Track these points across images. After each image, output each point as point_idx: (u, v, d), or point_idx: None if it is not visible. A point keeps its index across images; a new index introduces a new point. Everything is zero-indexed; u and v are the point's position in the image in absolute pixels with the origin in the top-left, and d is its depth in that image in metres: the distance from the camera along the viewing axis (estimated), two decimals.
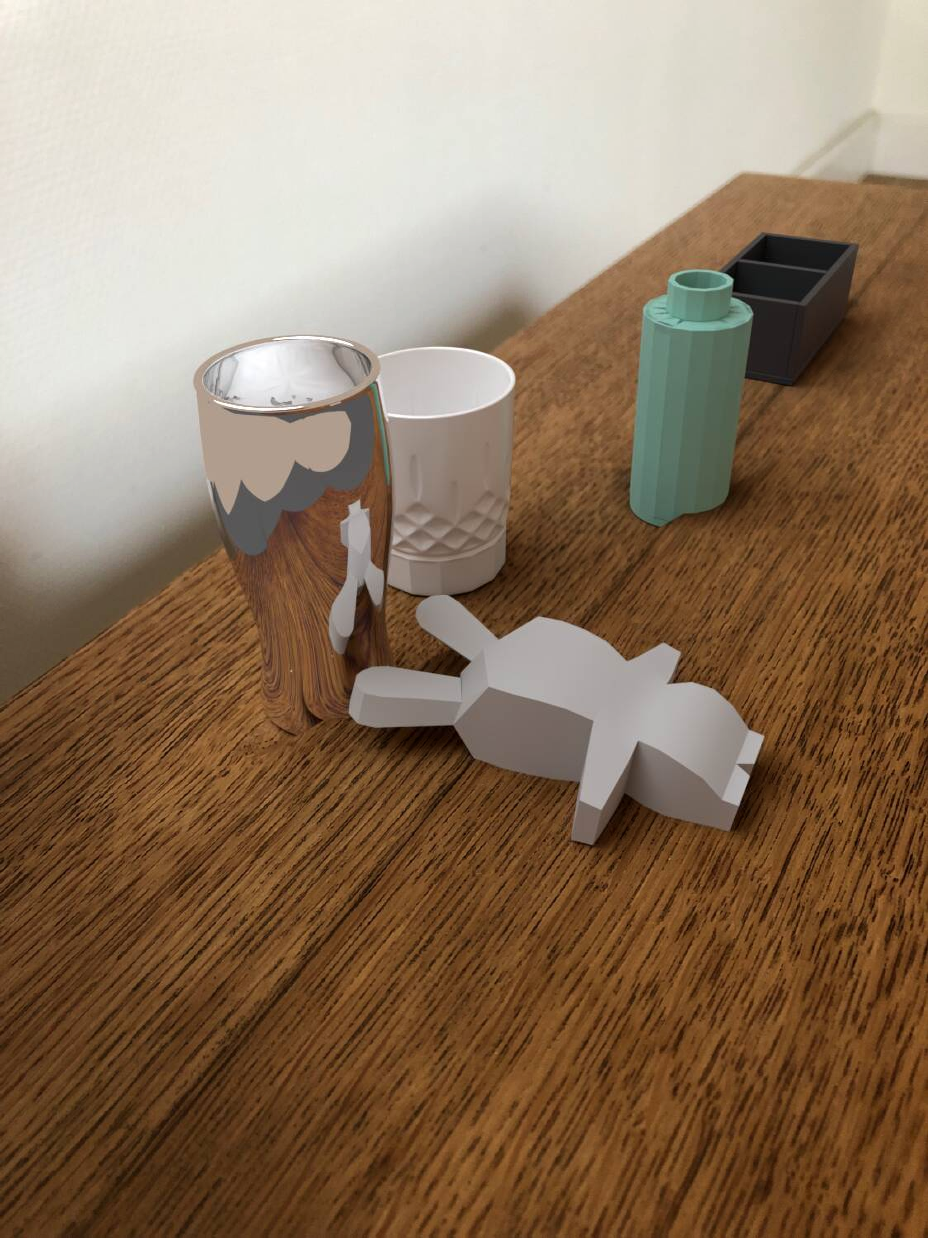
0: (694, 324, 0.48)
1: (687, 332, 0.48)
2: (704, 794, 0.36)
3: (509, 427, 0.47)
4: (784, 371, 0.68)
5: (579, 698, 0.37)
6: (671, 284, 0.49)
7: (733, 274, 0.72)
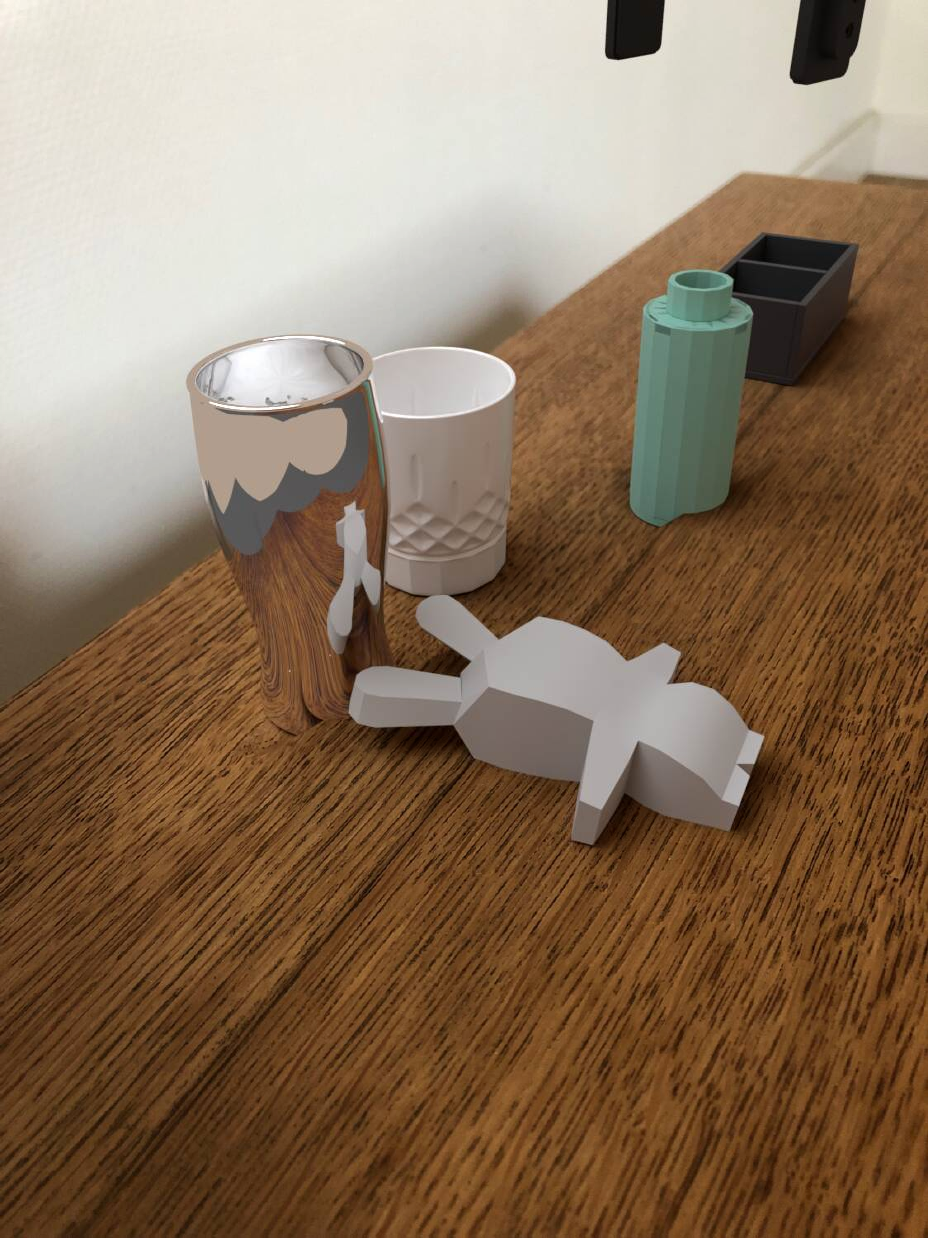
0: (694, 324, 0.48)
1: (687, 332, 0.48)
2: (704, 794, 0.36)
3: (509, 427, 0.47)
4: (784, 371, 0.68)
5: (579, 698, 0.37)
6: (671, 284, 0.49)
7: (733, 274, 0.72)
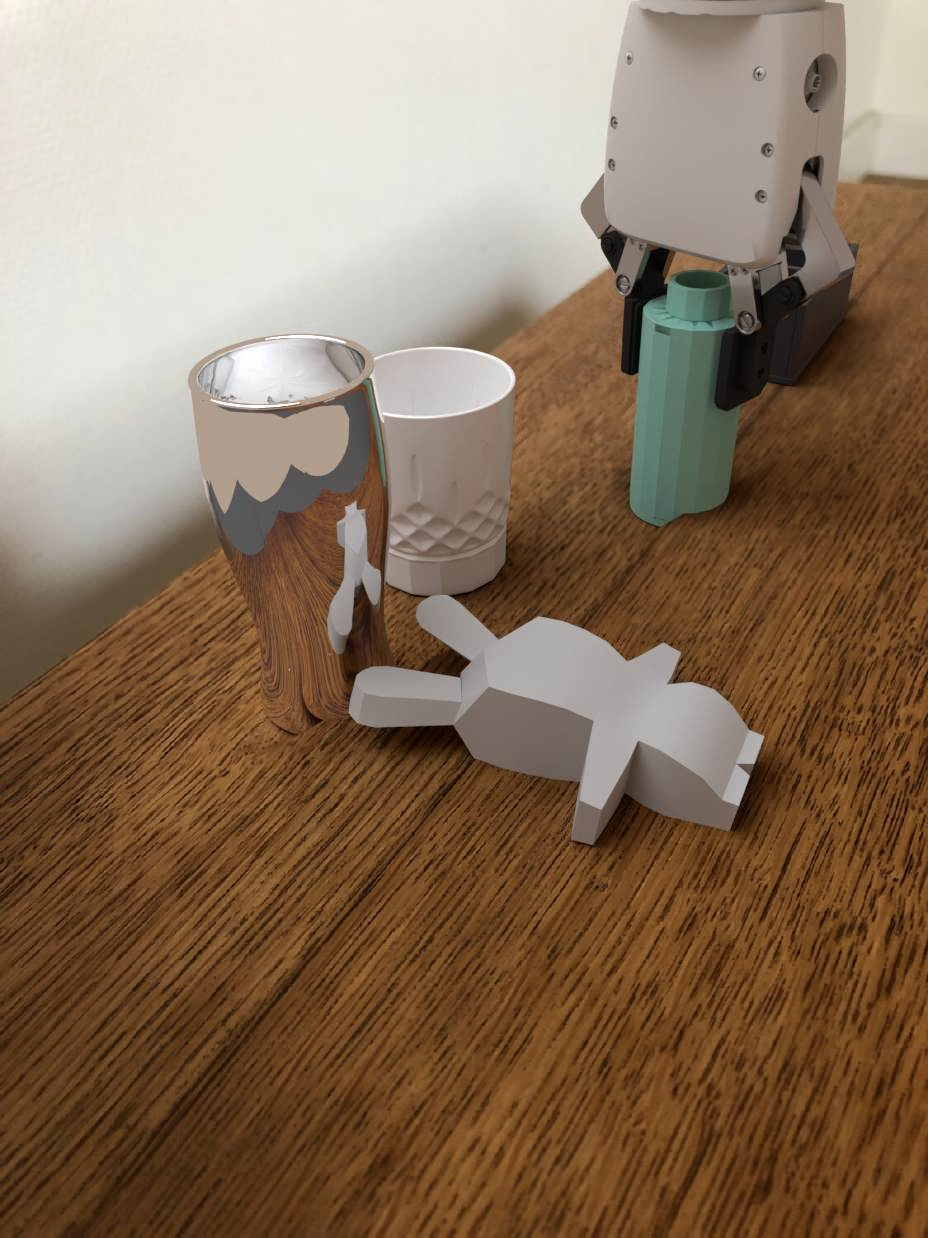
0: (694, 324, 0.48)
1: (687, 332, 0.48)
2: (704, 794, 0.36)
3: (509, 427, 0.47)
4: (784, 371, 0.68)
5: (579, 698, 0.37)
6: (671, 284, 0.49)
7: None
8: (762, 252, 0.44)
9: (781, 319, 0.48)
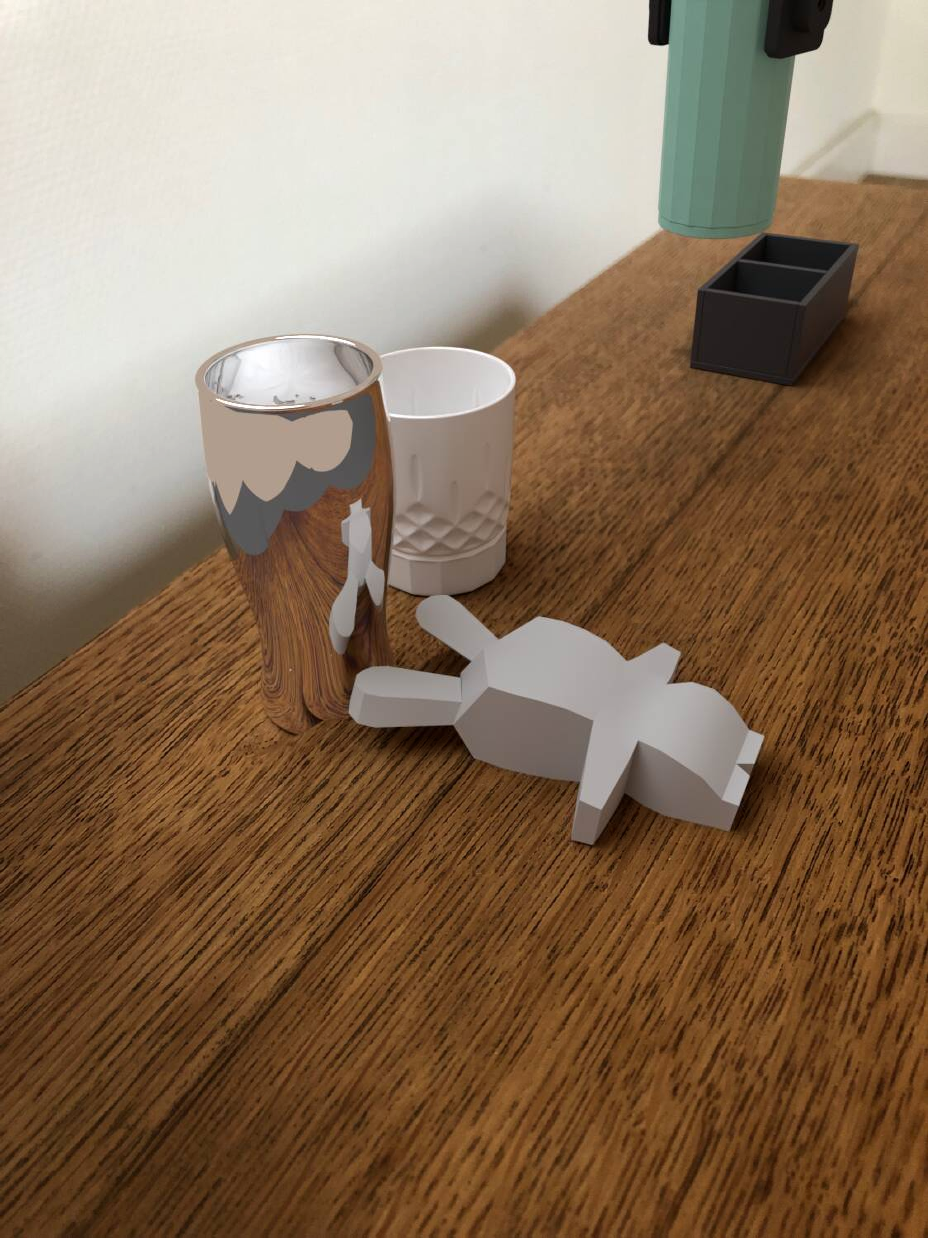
0: None
1: None
2: (704, 794, 0.36)
3: (509, 427, 0.47)
4: (784, 371, 0.68)
5: (579, 698, 0.37)
6: None
7: (733, 274, 0.72)
8: None
9: None
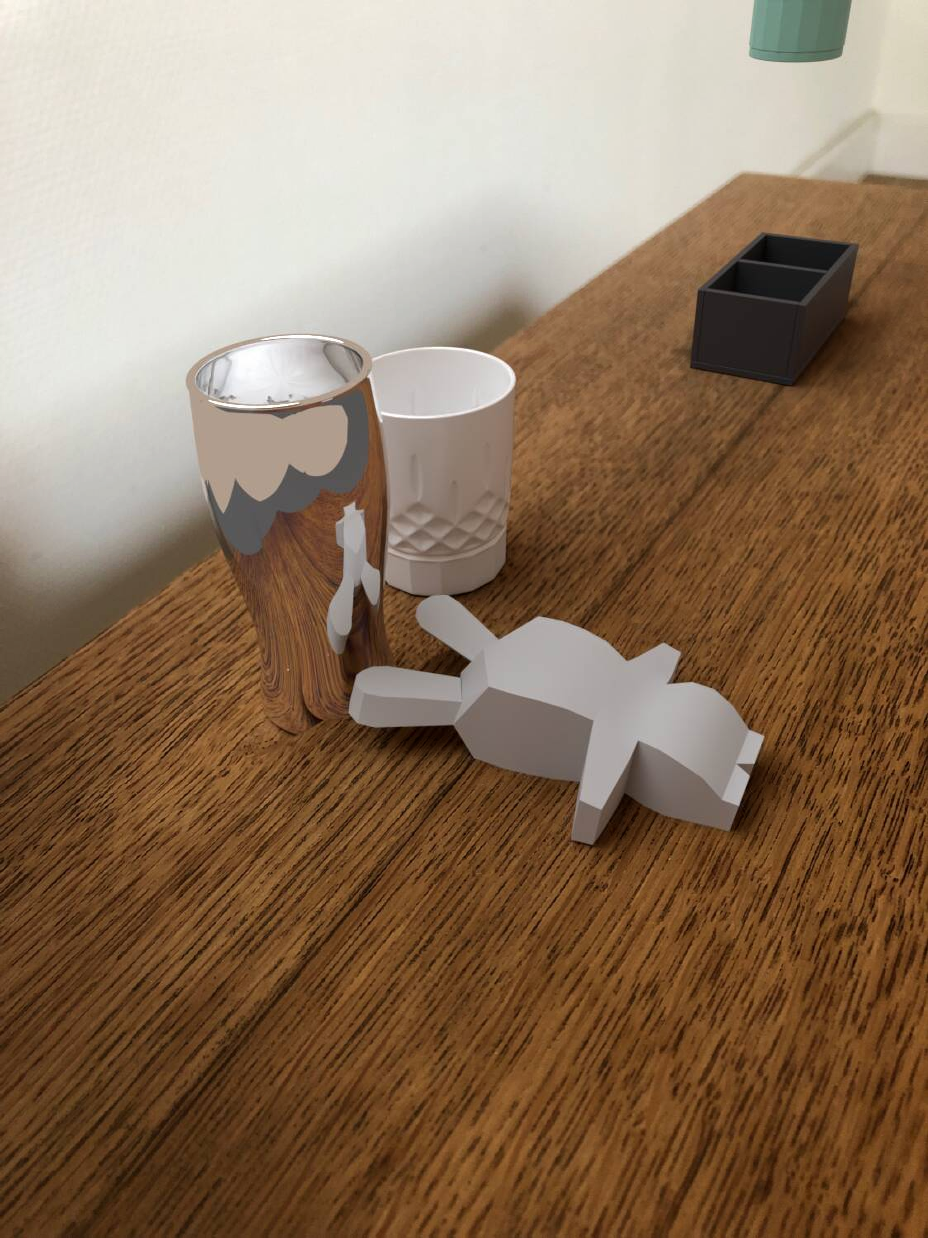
0: None
1: None
2: (704, 794, 0.36)
3: (509, 427, 0.47)
4: (784, 371, 0.68)
5: (579, 698, 0.37)
6: None
7: (733, 274, 0.72)
8: None
9: None
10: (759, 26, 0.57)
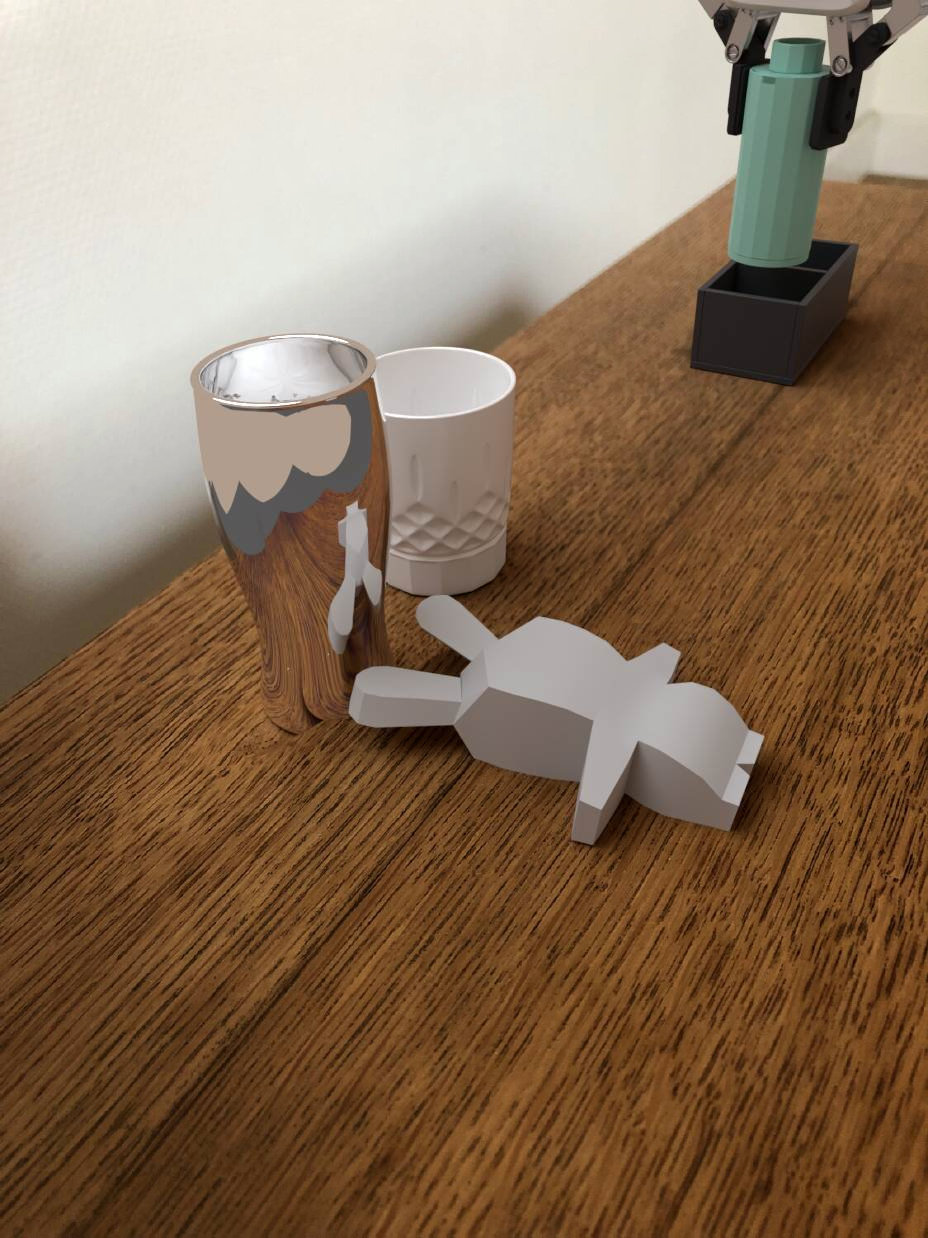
0: (795, 75, 0.60)
1: (789, 79, 0.59)
2: (704, 794, 0.36)
3: (509, 427, 0.47)
4: (784, 371, 0.68)
5: (579, 698, 0.37)
6: (775, 43, 0.60)
7: (733, 274, 0.72)
8: None
9: (866, 68, 0.59)
10: (736, 234, 0.66)
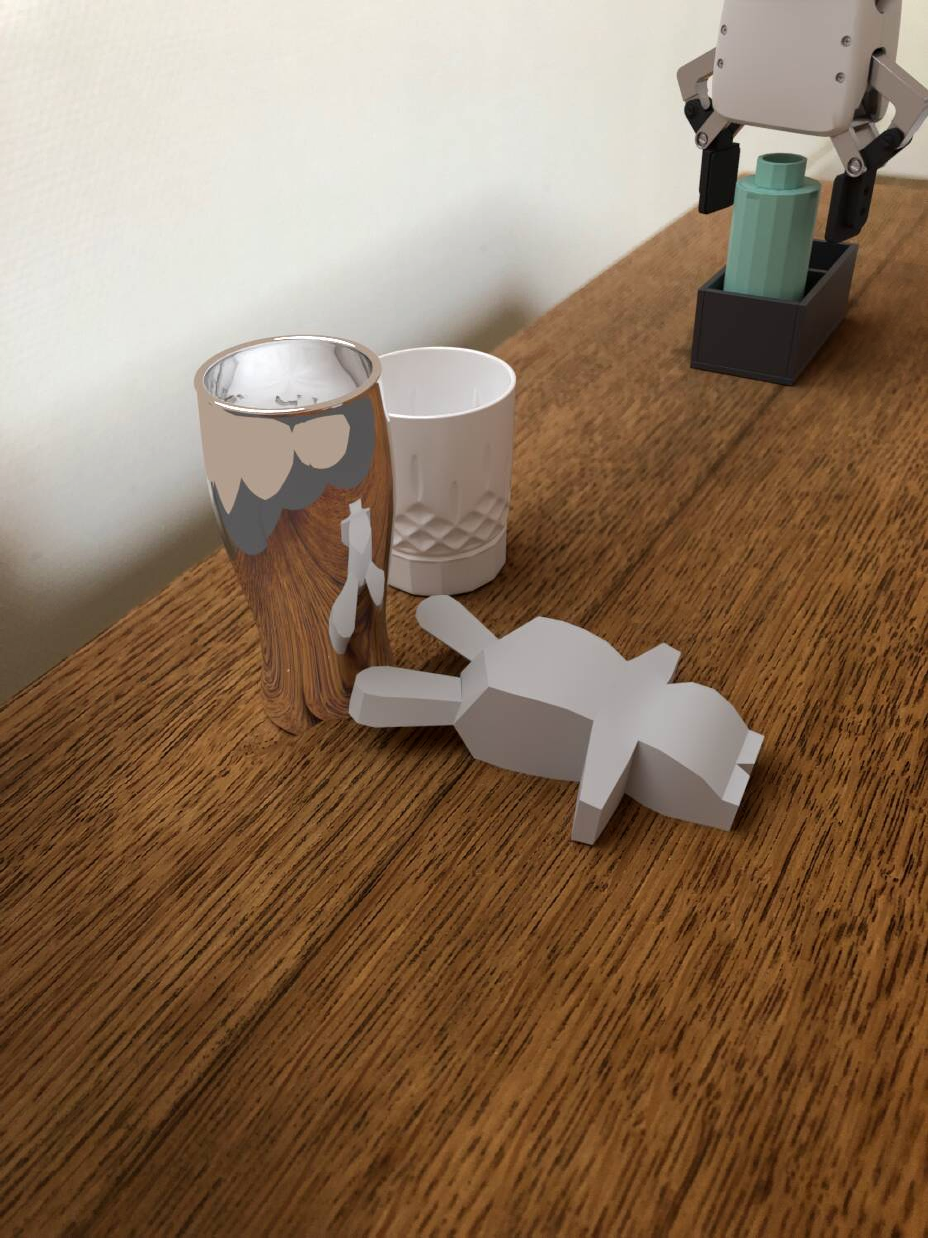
0: (778, 191, 0.64)
1: (773, 196, 0.63)
2: (704, 794, 0.36)
3: (510, 427, 0.47)
4: (784, 371, 0.68)
5: (579, 698, 0.37)
6: (760, 161, 0.64)
7: None
8: (839, 121, 0.59)
9: (883, 164, 0.61)
10: None
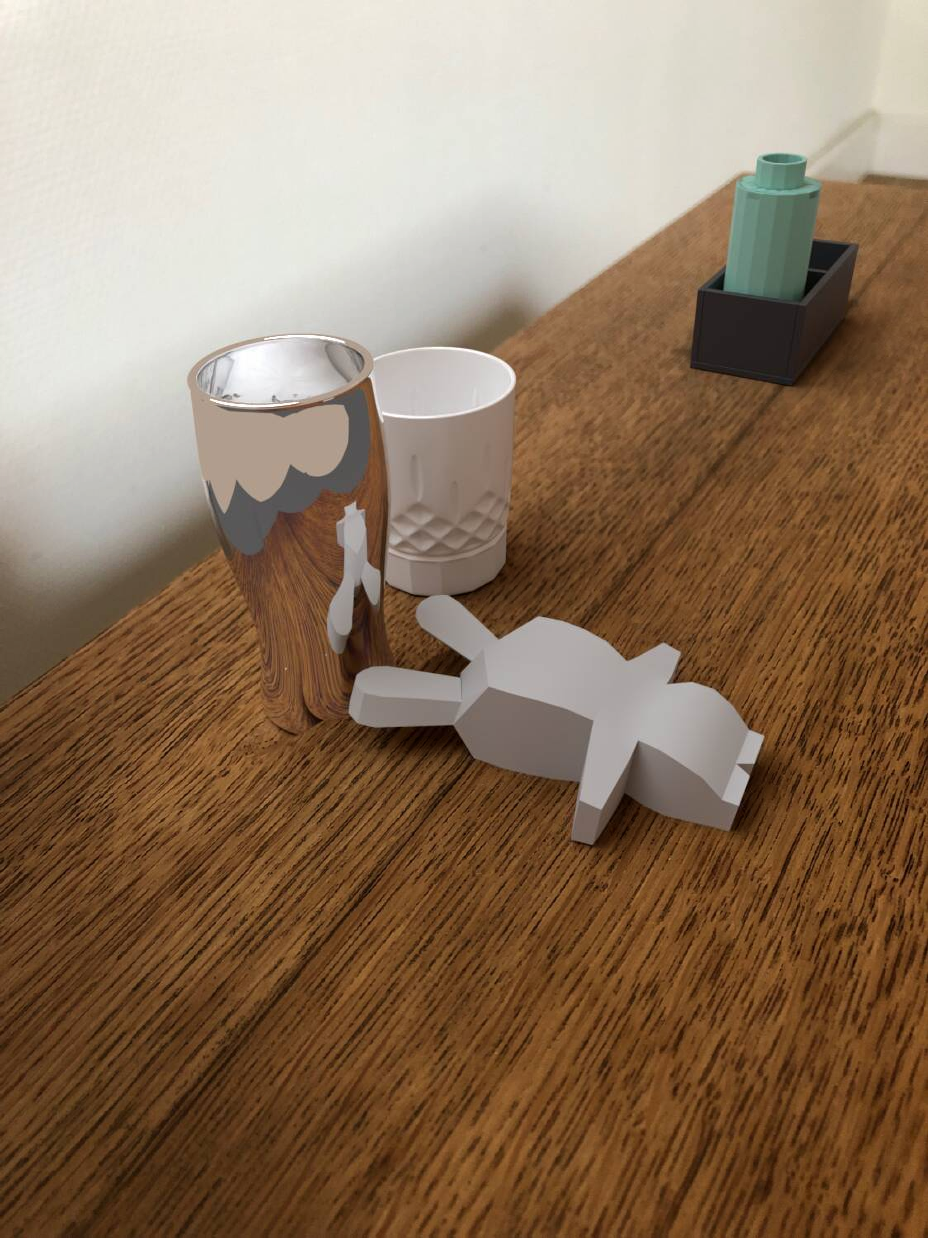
0: (778, 191, 0.64)
1: (773, 196, 0.63)
2: (704, 794, 0.36)
3: (510, 427, 0.47)
4: (784, 371, 0.68)
5: (579, 698, 0.37)
6: (760, 161, 0.64)
7: None
8: None
9: None
10: None
